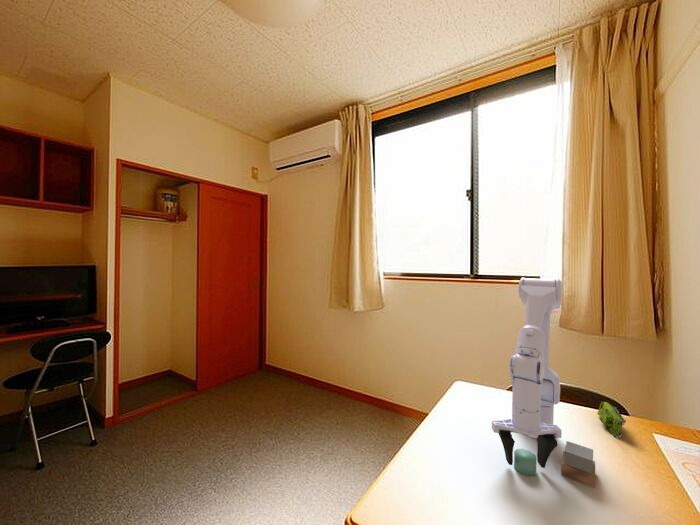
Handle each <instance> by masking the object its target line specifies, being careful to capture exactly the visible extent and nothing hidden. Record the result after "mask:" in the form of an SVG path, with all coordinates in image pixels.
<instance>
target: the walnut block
mask: <svg viewBox="0 0 700 525" xmlns="http://www.w3.org/2000/svg"><path fill="white" fill-rule="evenodd" d="M564 451H565V450H563V452H562V459H561V464H560V465H561V466H560V467H561V469H560V470H561V471H560V472H561V474H560V476H562V477H565V478H568V479H570V480H573V481H576V482H578V483H581V484H584V485H587V486H589V487H591V488H596V461H595V460H593V470H592V474H590V473H587V472H585V471H582V470H579V469H577V468H574V467H571V466H569V465H566V464H564Z"/></svg>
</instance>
